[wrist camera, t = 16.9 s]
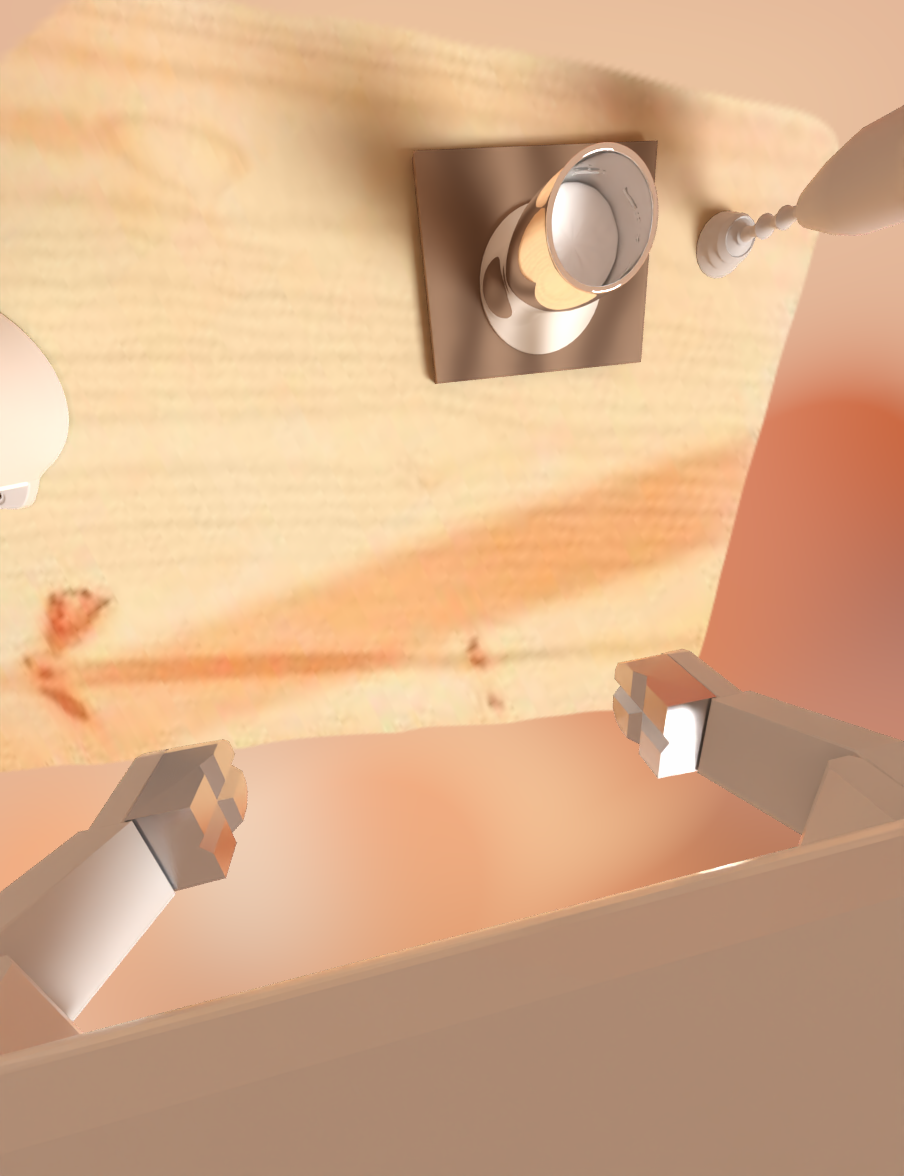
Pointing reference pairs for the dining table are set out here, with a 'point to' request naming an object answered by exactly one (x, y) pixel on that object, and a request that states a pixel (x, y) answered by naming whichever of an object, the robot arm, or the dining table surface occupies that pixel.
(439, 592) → the dining table surface
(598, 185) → the beer glass
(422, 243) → the walnut board
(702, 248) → the chalice
